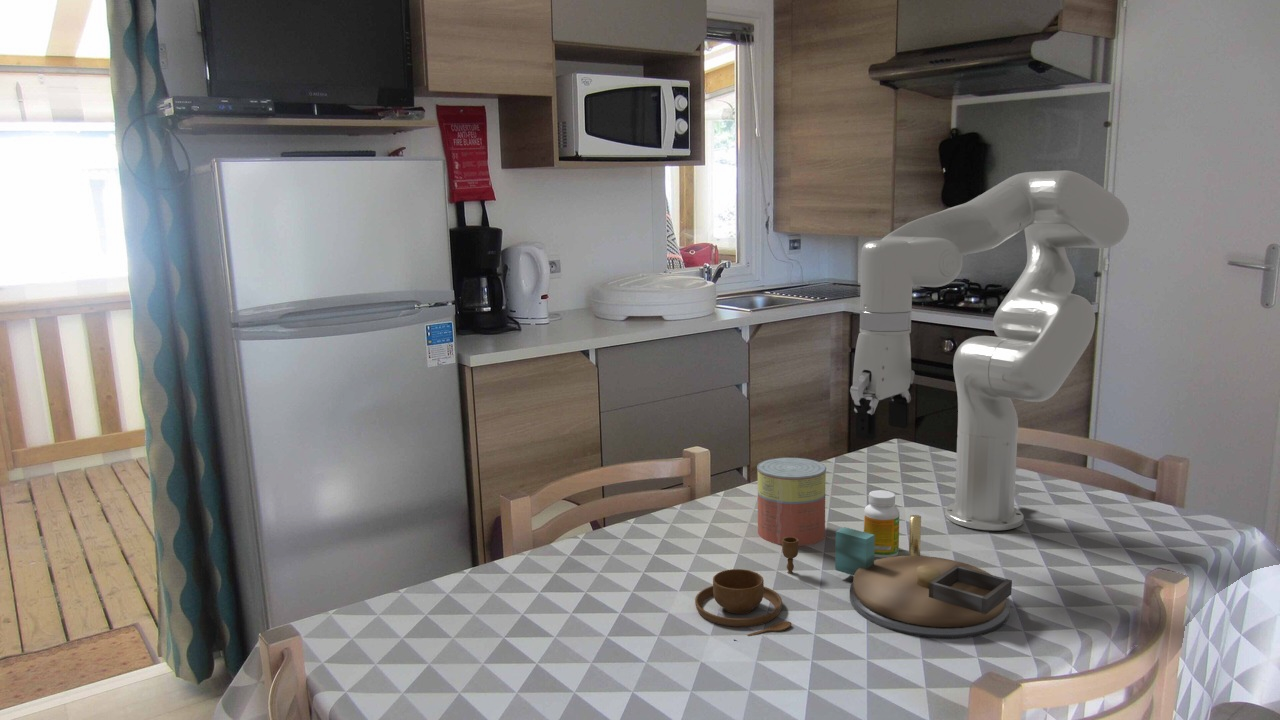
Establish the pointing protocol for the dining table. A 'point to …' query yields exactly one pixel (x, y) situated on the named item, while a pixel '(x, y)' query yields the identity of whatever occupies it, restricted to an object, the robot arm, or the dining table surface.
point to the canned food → (791, 500)
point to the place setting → (746, 594)
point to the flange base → (920, 629)
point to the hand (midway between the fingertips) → (882, 432)
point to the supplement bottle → (883, 523)
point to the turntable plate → (919, 585)
